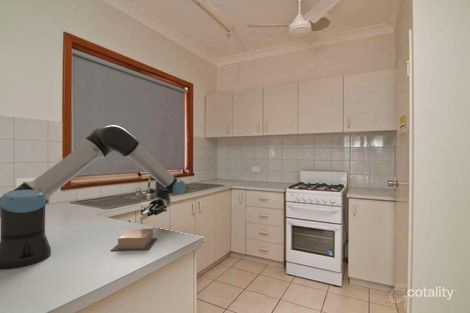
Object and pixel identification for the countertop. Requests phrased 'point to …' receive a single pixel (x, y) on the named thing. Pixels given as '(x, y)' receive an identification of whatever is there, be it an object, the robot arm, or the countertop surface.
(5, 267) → the robot arm
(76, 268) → the countertop surface
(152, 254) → the countertop surface
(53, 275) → the countertop surface
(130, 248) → the mat
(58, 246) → the countertop surface
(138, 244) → the tile
